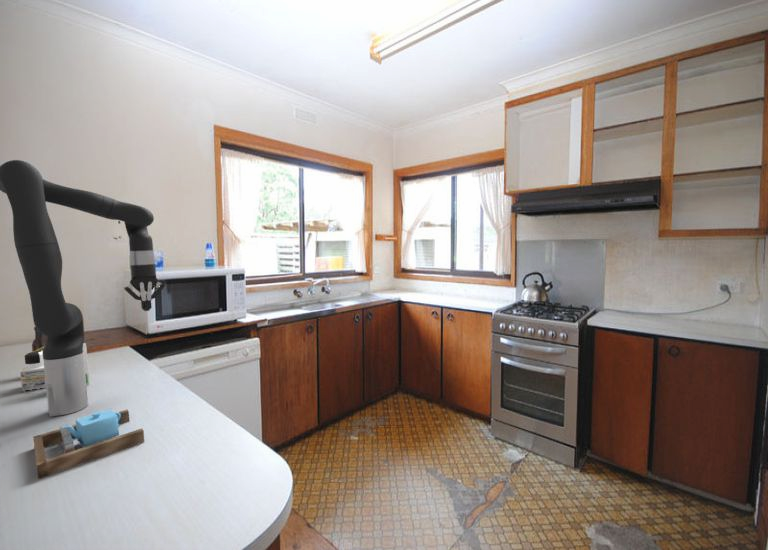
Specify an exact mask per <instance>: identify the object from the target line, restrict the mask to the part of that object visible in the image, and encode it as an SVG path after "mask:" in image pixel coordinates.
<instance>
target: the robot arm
mask: <svg viewBox="0 0 768 550" xmlns="http://www.w3.org/2000/svg"><path fill="white" fill-rule="evenodd" d="M0 191H1V192H2V193H4V194H6V196H7V199H8V201H9V204H10V208H11V210H12V211H11V213H12V223H13V224H12V228H13V229H12V230H13V241H14V248H15V251H16V253H17V258H18V260H19V263H20V266H21V269H22V273H23V277H24V279H25V283H26V286H27V290H28V293H29V299H30V305H31V313H32V320H33V324H34V327H36V328H37V330H38V331H39V332H40V333H42V334H43V335H46V336H47V342H46V345H45V347H44V349H43V362H44V371H45V380H46V382H45V385H46V388H45V393H46V394H45V395H46V402H47V411H48V416H49V417H50V418H52V417H55V416H63V415H69V414H72V413H76V412H79V411H81V410H84V409H85V408H87V407H88V406H89V401H88V400H89V398H88V389H87V385H86V377H85V367H84V356H83V344H84V343H85V327H84V326H85V325H84V316H83V312H82V311H81V309H80V308H79V306H77V305H75V304H73V303H69V302H66V300H65V297H64V294H63V290H62V289H63V288H62V276H63V275H62V273H63V256H62V252H61V249H60V246H59V245H60V244H59V242H58V238H57V236H56V232H55V229H54V226H53V222H52V220H51V218H50V215H49V211H48V209H47V203H50V204H54V205H60V206H63V207H67V208H70V209H73V210H77V211H81V212H84V213H88V214H90V215H94V216H96V217H97V216H98V217H101V218H103V219H108V220H113V221H121V222H123V223H124V226H125V230H126V234H127V237H128V241H129V242H128V243H129V265H130V277H131V279H130V281H129V284H128V285H126V286H123V291H125V292H126V293H127V294H129V295H130V296H131V297H132V298H133V299H134V300H136V301H140V305H141V310H143V311H144V312H149V311H150V310H151V309H152V300H153V299H157V297H158V296H159V294H160V293H161V292H162V290H163V289H164V288H165V287H166V286H165V284H164V283H161V282H159V279H158V278H157V272H156V271H157V270H156V260H155V259H156V258H155V253H154V245H153V238H152V236H151V235H150V234H149V232H148V227H150V226H151V225H152V223H153V222H154V220H155V219H154V218H155V217H154V214H153V213H152V211H151V210H149V209H148V208H146V207H145V206H144V207H143V206H141V205H137V204H134V203H133V204H132V203H129V202H123V201H120V200H117V199H115V198H113V197H112V198H111V197H109V196H107V195H103V194H100V193H97V192H93V191H88V190H83V189H78V188H74V187H73V188H71V187H69V186H68V187H67V186H65V185H60V184H57V183H53V182H51V181H48V180H45V179H44V178H43V177H42V174H41V172H40V171H39V170H38V169H37V168H36V167H35V166H34V165H32V164H31V163H29V162H27V161H24V160H20V159H13V160H9V161H5V162H4V163H2V164H0ZM133 289H135V290H136V291H138V294H136V292H134V291H133ZM154 289H155V290H154ZM152 290H153V291H152ZM152 292H153V293H152Z"/></svg>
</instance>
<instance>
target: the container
mask: <svg viewBox="0 0 768 550" xmlns="http://www.w3.org/2000/svg"><path fill="white" fill-rule="evenodd" d="M24 365H25V367H24V368H23V369H21V370H19V373H20V383H21V391H22V390H23V391H24V390H30V391H32V390H31V389H37V390H41V389H40V388H43V389H46V385H45V382H46V380H45V371H44V362H43V350H42V351H34V352H32V351H30V352H29V353H26V354H25V355H24ZM23 391H22V392H23ZM24 392H25V391H24Z"/></svg>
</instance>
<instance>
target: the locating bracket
mask: <svg viewBox="0 0 768 550" xmlns="http://www.w3.org/2000/svg"><path fill="white" fill-rule="evenodd" d="M118 412H119V413H120V414H121V417H120V419H119V421H118V424H119V425H121V424H124V423H127V422H130V414H129V413H130V412H129V410H128V409H125V410H121V411H118ZM116 415H117V417H118V414H116ZM71 426H72V427H73V428H74V430H75V431H77V430H76V423H75V424H72V425H71ZM70 434H71V433H70ZM71 437H72V440H73V439H75V438H74V437H73V436H72V435H71ZM32 438H33V446H34V453H35V454H34V455H35V462H36V469H37V471H36V472H37V478H38V479H43V478H45V477H48V476H51V475H53V474H56V473H60V472H62V471H65V470H68V469H71V468H73V467H76V466H77V467H78V466H79V465H83V464H84V463H88V462H91V461H94V460H96V459H98V458H99V459H100V458H101V457H105V456H107V455H110V454H113V453H116V452H119V451H122V450H124V449H127V448H130V447H133V446H135V445H138V444H141V443H144V442H145V433H144V429H143V428H139V429H136V430H132V431H129V432H126V433H124V434H119V435H118V436H116V437H113V438H111V439H108V440H105V441H102V442H99V443H96V444H93V445H90V446H87V447H81V448H78V449H74V451H71V452H68V453H65V454H64V453H63V454H60V455H57V456H54V457H50V458H47V457H46V452H45V448H48V447H51V446H53V445H57V444H60V443H61V434H60V428H58V429H56V430H52V431H48V432H44V433H40V434H37V435H35V436H34V435H33V437H32ZM46 458H47V459H46ZM38 479H37V480H38Z"/></svg>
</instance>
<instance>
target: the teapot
mask: <svg viewBox="0 0 768 550" xmlns="http://www.w3.org/2000/svg"><path fill="white" fill-rule="evenodd" d="M119 412H120V411H112V410H111V409H109V408H108V409H106V410H102V411H96V412H93V413H92V414H89V415H85V416H84V417H83V416H82V417H79V418H77V419H75V424H76V430H77V431H75V430H74V428H73V427H72V425H68V426H67V425H64V427H63V426H60V427H61V428H66V429H68V430H69V431H70V433H71V435H72V436H73V437H74V438H73V439H76V440H77V442H78V443H79V444H80V445H81V446H82V448H84V447H87V446H90V445H93V444H96V443H99V442H102V441H105V440H108V439H111V438H114V437H117V436H120V431H119V428H120V424H118V421H119V419H120V417H121V414H120V413H119ZM116 414H118V417H117V415H116Z"/></svg>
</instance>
